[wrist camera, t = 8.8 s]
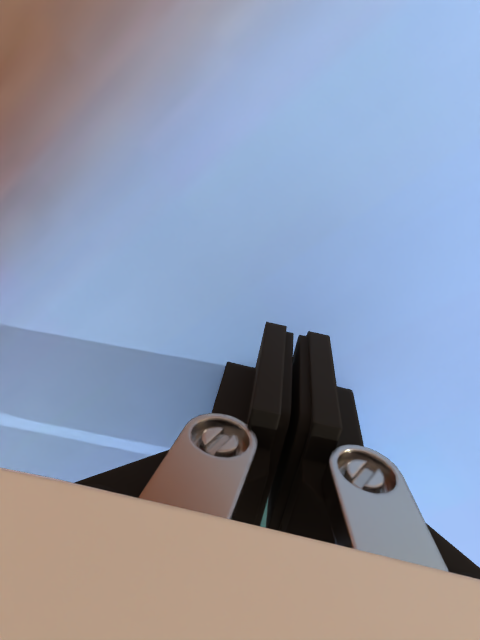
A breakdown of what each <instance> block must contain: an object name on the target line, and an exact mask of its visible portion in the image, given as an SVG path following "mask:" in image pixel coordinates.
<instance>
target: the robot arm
mask: <svg viewBox="0 0 480 640" xmlns="http://www.w3.org/2000/svg"><path fill="white" fill-rule="evenodd" d="M267 500H268V506H267V518H266V528H264V527H260V524H261V521H262V517H263V514H264V510H265V507H266V503H267ZM0 640H480V568H479V567H478V566H477V565H475V564H474V563H473V562H472V561H471V560H469V559H468V558H467V557H466V556H465V555H463V554H462V553H461V552H460V551H459V550H457V549H456V548H455V547H454V546H453V545H451V544H450V543H449V542H448V541H447V540H445V539H444V538H443V537H442V536H441V535H439V534H438V533H437V532H436V531H435V530H433V529H432V528H431V527H430V526H429V525H427V524H426V523H425V521H424V519H423V517H422V515H421V513H420V511H419V508H418V506H417V504H416V502H415V500H414V498H413V496H412V494H411V492H410V490H409V488H408V486H407V484H406V481H405V479H404V477H403V475H402V474H401V472H400V471H399V469H398V468H397V466H396V465H395V464H393V463H392V462H391V461H390V460H389V459H388V458H387V457H385V456H383V455H382V454H380V453H379V452H377V451H374V450H372V449H370V448H367V447H364V445H363V440H362V435H361V430H360V425H359V420H358V415H357V410H356V405H355V400H354V395H353V392H352V390H350V389H345V388H341V387H337V385H336V378H335V371H334V364H333V357H332V350H331V343H330V337H329V336H328V335H323V334H319V333H314V332H310V331H308V333H307V335H306V336H303V335H299V337H298V340H297V343H296V347H295V351H294V355H293V333H289V332H286V326H283V325H278V324H274V323H269V322H266V325H265V329H264V333H263V337H262V342H261V346H260V350H259V354H258V359H257V363H256V367H255V368H253V367H248V366H244V365H240V364H235V363H231V362H227V364H226V367H225V371H224V374H223V377H222V381H221V384H220V387H219V390H218V394H217V397H216V400H215V403H214V407H213V410H212V413H209V414H204V415H199V416H197V417H195V418H193V419H191V420H190V421H189V422H188V423H187V424H186V426H185V427H184V429H183V430H182V432H181V433H180V435H179V436H178V438H177V439H176V441H175V442H174V444H173V445H172V447H171V449H170V450H167V451H164V452H161V453H158V454H156V455H153V456H150V457H147V458H144V459H141V460H138V461H135V462H133V463H130V464H127V465H124V466H121V467H118V468H115V469H112V470H110V471H107V472H104V473H101V474H98V475H95V476H92V477H89V478H86V479H84V480H81V481H78V482H75V483H72V482H67V481H63V480H59V479H54V478H50V477H45V476H40V475H35V474H30V473H25V472H20V471H15V470H10V469H5V468H0Z"/></svg>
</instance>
